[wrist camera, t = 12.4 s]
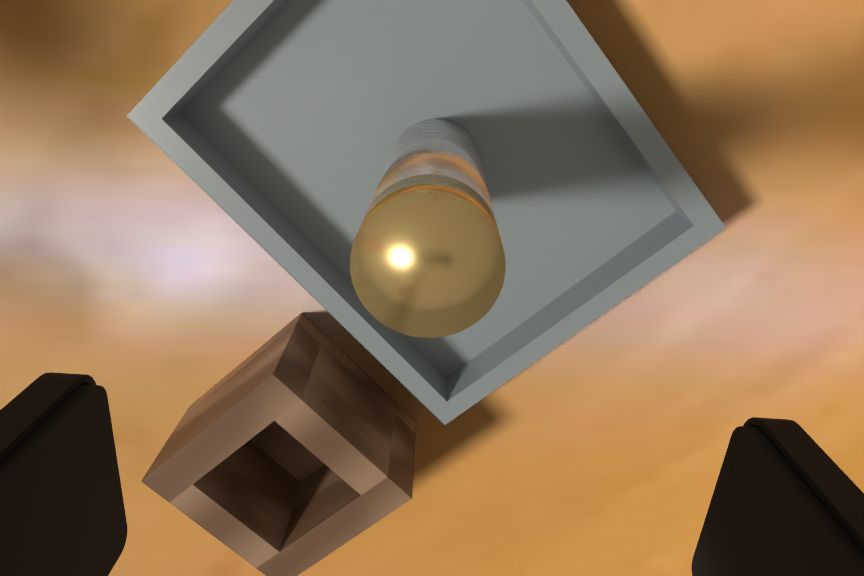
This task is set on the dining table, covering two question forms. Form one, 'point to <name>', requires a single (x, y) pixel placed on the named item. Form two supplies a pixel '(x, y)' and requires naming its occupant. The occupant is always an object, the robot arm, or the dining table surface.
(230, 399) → the holder block
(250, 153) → the tray
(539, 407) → the dining table surface
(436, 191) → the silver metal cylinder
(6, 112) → the dining table surface
